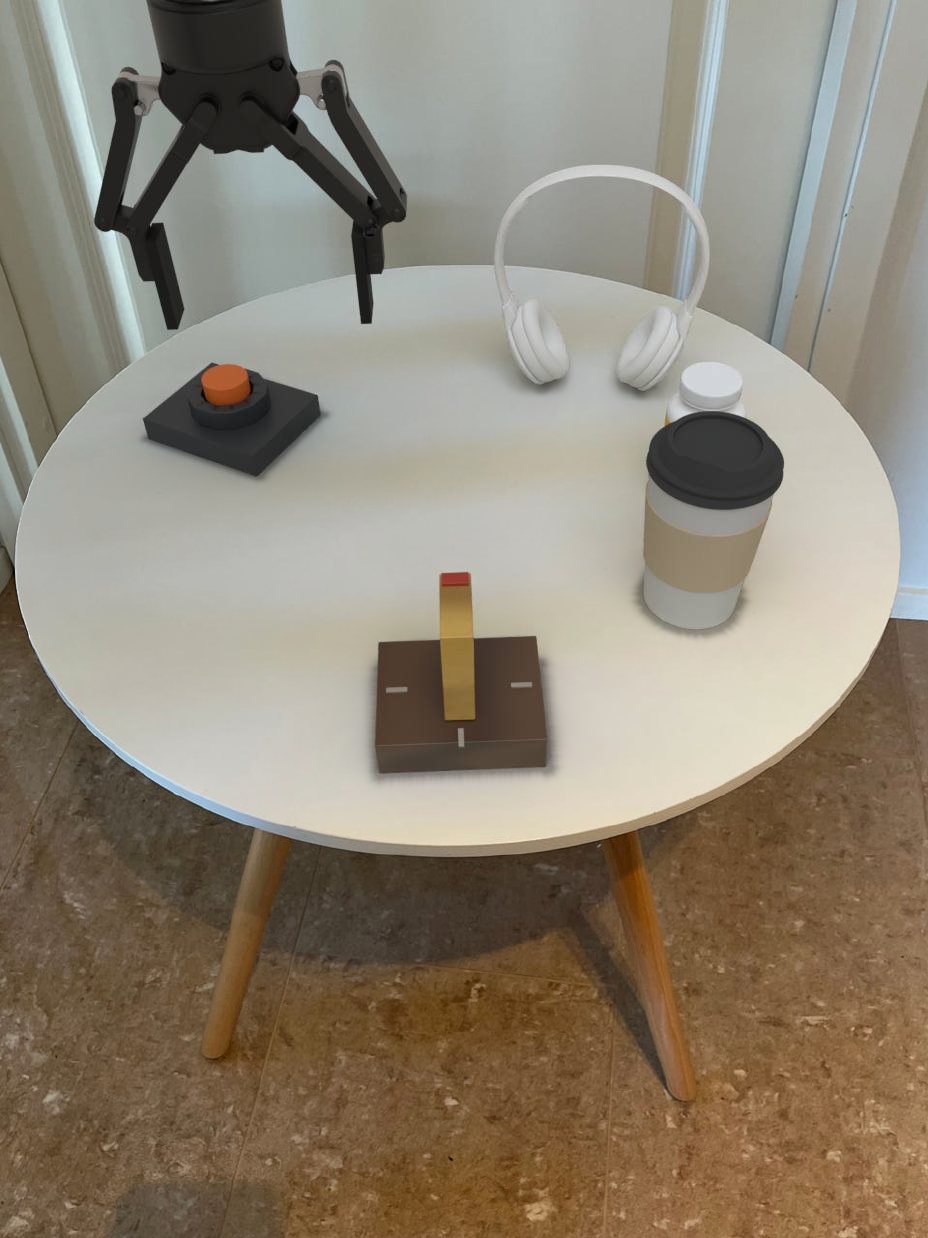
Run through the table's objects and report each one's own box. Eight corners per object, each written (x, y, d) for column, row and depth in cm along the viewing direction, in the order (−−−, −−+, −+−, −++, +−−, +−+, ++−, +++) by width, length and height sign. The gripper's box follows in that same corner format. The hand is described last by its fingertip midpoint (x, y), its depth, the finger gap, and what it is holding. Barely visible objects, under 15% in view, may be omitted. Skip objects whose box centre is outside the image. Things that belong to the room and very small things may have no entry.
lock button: (196, 399, 93) (191, 382, 92) (223, 376, 95) (219, 359, 94) (232, 411, 91) (229, 394, 90) (259, 387, 94) (256, 370, 93)
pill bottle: (690, 457, 91) (708, 346, 83) (746, 492, 88) (771, 379, 80) (640, 488, 89) (654, 376, 81) (696, 525, 85) (717, 411, 77)
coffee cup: (658, 541, 84) (682, 381, 73) (767, 580, 81) (810, 419, 70) (609, 612, 79) (627, 451, 68) (723, 657, 76) (762, 496, 65)
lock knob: (475, 720, 68) (473, 634, 62) (444, 721, 68) (439, 635, 62) (473, 656, 72) (470, 569, 66) (443, 657, 72) (438, 570, 66)
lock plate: (378, 778, 69) (374, 749, 67) (381, 666, 76) (378, 636, 74) (546, 771, 69) (548, 742, 67) (534, 660, 76) (536, 630, 74)
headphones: (690, 408, 96) (724, 193, 82) (490, 396, 98) (489, 184, 84) (689, 364, 101) (721, 154, 87) (499, 354, 103) (499, 147, 89)
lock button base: (148, 438, 95) (137, 401, 92) (216, 381, 101) (207, 345, 98) (256, 476, 91) (248, 439, 88) (321, 414, 97) (315, 377, 94)
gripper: (433, -49, 62) (447, 283, 77) (9, -34, 62) (108, 294, 78) (431, -7, 57) (447, 340, 72) (-31, 9, 57) (84, 351, 72)
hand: (271, 317), depth 75 cm, fingers open, 13 cm apart
